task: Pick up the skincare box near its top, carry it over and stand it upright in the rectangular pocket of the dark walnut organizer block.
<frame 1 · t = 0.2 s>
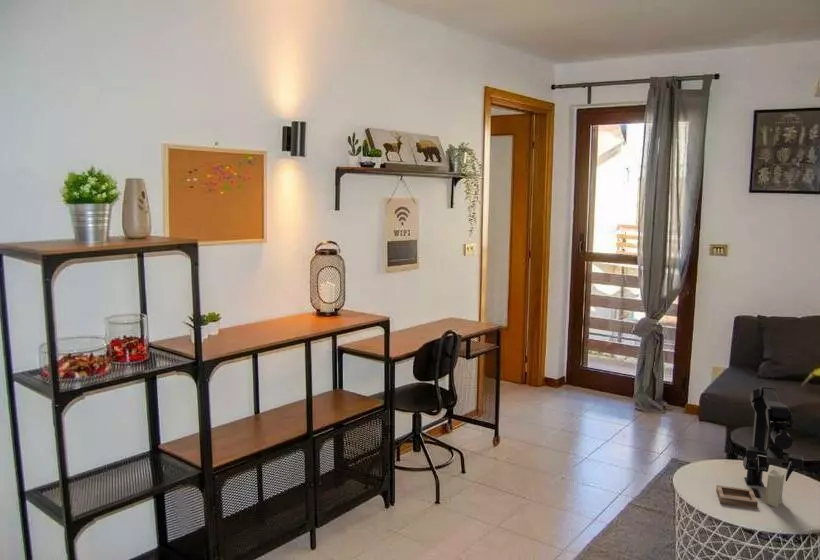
hand: (772, 478, 245), 14 cm above the table, fingers open, 9 cm apart
skincare box: (773, 503, 255), on the table
walnut holder: (736, 499, 258), on the table
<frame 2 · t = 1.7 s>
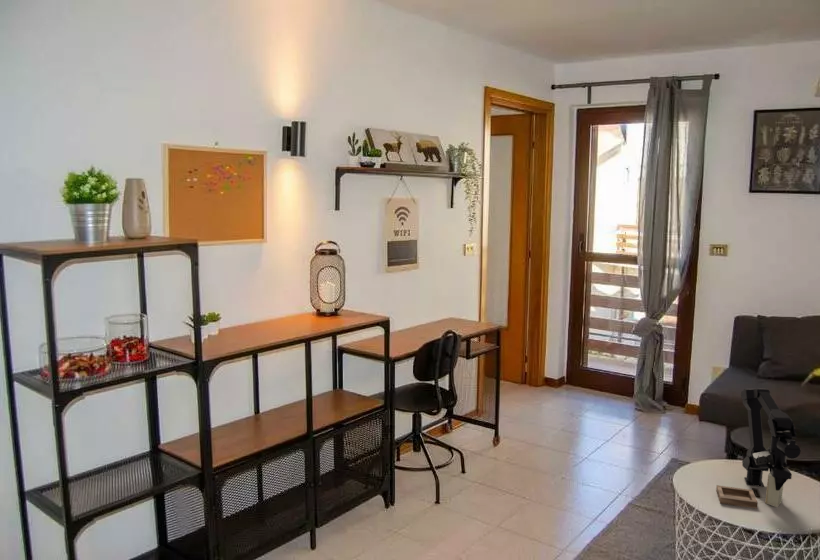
hand: (775, 486, 254), 7 cm above the table, fingers closed on skincare box, 7 cm apart
skincare box: (773, 503, 255), on the table, touching gripper
when the fingers open (8 cm above the table, at t = 6.0 s): skincare box stays where it is, resting on walnut holder.
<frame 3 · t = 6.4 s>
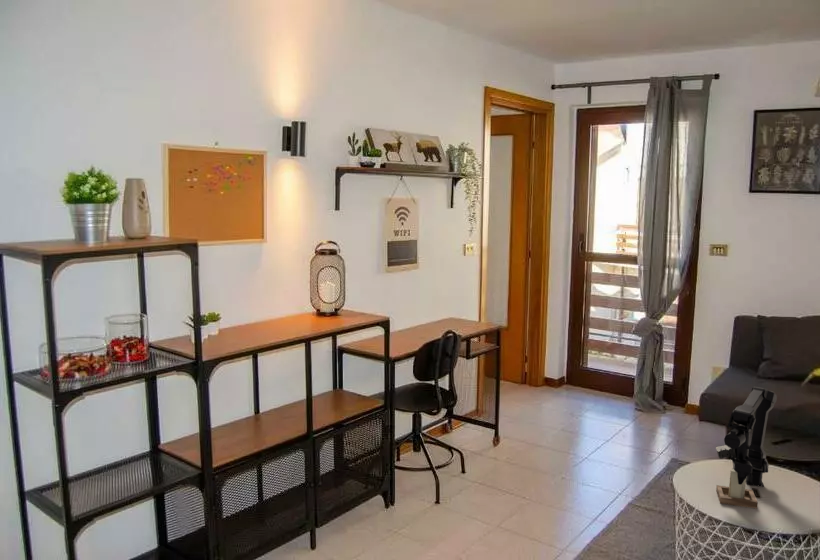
hand: (737, 479, 256), 8 cm above the table, fingers open, 9 cm apart
skincare box: (736, 498, 258), resting on walnut holder
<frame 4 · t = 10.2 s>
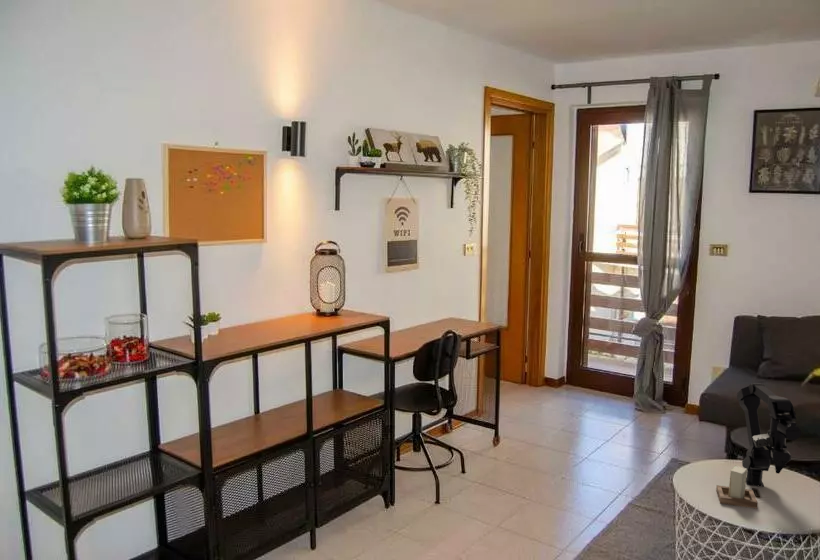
hand: (774, 468, 256), 13 cm above the table, fingers open, 9 cm apart
nothing on the table moved.
at the end: skincare box 0.1 cm off-centre on the walnut holder, point 0.3 cm above the walnut holder's base; skincare box tilted 0°; the gripper is holding nothing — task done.
